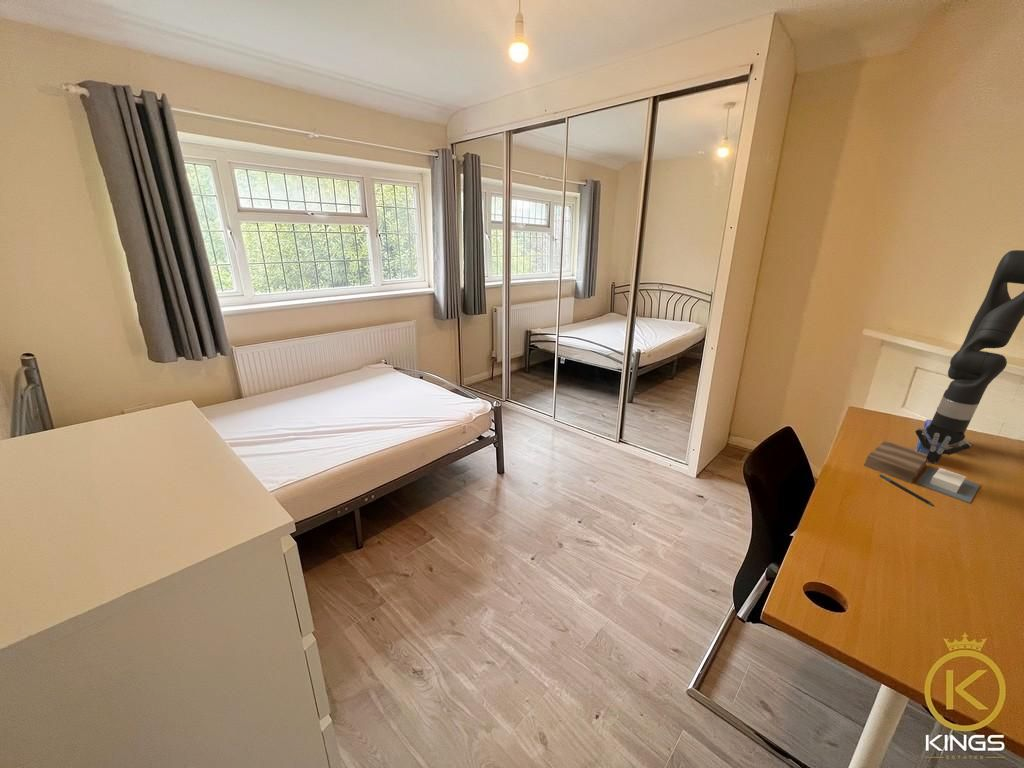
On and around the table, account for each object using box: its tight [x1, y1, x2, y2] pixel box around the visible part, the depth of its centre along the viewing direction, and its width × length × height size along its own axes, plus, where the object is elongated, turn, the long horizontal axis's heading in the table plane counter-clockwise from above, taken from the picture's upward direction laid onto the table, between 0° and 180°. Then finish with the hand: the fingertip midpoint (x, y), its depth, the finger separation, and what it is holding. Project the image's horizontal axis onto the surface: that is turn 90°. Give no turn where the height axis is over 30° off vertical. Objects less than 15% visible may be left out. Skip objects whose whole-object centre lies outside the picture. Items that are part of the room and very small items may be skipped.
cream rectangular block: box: [930, 467, 967, 493], centre depth 127 cm, size 9×6×2 cm, turn 125°
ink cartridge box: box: [914, 419, 942, 464], centre depth 141 cm, size 10×6×14 cm, turn 136°
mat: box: [915, 466, 981, 504], centre depth 127 cm, size 16×12×1 cm
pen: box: [878, 474, 935, 507], centre depth 124 cm, size 1×16×1 cm, turn 10°
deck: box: [863, 440, 928, 483], centre depth 137 cm, size 18×12×4 cm, turn 125°
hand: (931, 461), depth 130 cm, fingers closed
